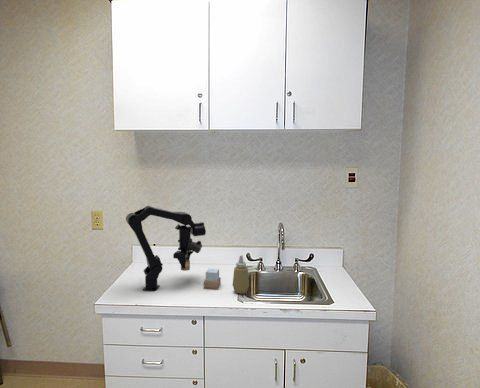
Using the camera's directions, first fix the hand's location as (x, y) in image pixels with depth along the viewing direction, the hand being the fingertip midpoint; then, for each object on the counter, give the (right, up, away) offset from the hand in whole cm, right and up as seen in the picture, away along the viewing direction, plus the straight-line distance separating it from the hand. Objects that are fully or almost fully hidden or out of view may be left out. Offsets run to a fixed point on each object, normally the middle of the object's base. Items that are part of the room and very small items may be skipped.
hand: (185, 267), depth 186 cm
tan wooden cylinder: (0, -1, 0) cm, 1 cm away
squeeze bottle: (+28, -10, -10) cm, 32 cm away
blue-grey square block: (+14, -5, -4) cm, 16 cm away
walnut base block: (+14, -9, -3) cm, 17 cm away
